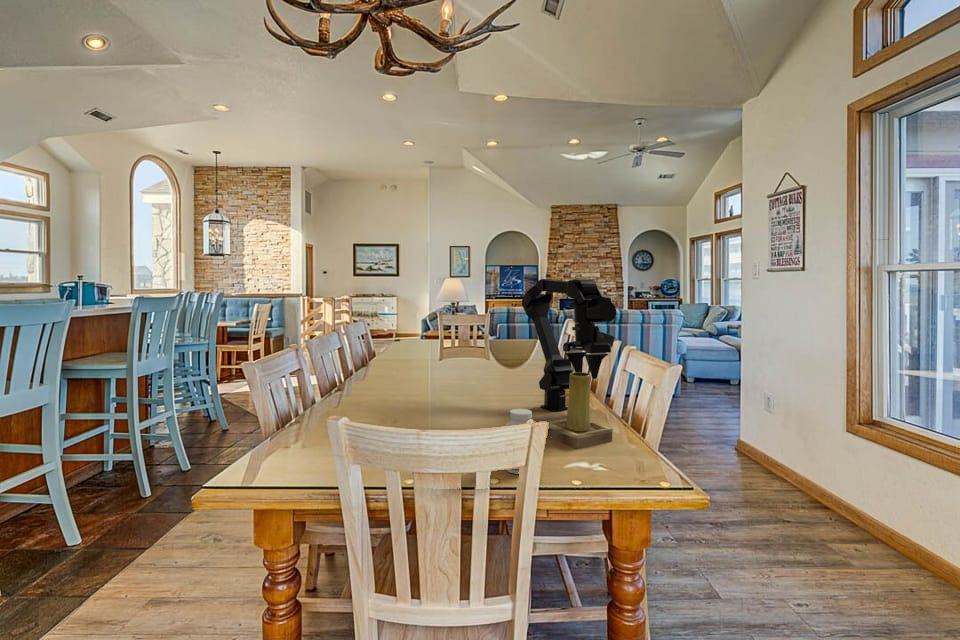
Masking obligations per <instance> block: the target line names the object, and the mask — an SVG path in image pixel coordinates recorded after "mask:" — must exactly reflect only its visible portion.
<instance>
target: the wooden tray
mask: <svg viewBox="0 0 960 640" xmlns="http://www.w3.org/2000/svg"><path fill="white" fill-rule="evenodd" d="M531 419H533V420H534V421H536V422H539V421H547V422H549V429H548V436H549V437H548V438H550V437H552V438H554V439H556V440H555V441H557V440H558V441H557V442H559V441H560V443H561V442H562V444H563V445H566V446H568V447H571V448H573V449H575V450H579V449H582V448H587V447H588V446H589V447H591V446H592V445H593V446H596V445H597V444H598V445H602V444H605V442H607V443H610V442H609V441H612V442H613V428H611V427H609V426H606V425H603V424H601V423H599V422H598V423H597V422H594V421H593V420H592V421H591V420H590V430H589V431H586V432H575V431H571V430H568V429H567V428H566V424H567V414H564V413H561V412H558V413H552V414H544V415H539V416H532V418H531ZM552 438H551V439H552ZM554 439H553V440H554ZM601 443H602V444H601Z"/></svg>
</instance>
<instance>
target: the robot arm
mask: <svg viewBox="0 0 960 640" xmlns="http://www.w3.org/2000/svg"><path fill="white" fill-rule="evenodd" d="M543 292H545V293H543ZM553 293H556V294H557V293H558V294H565V295H566V296H567V297H569V298H571V299H573V301H572V302H571V303H570V305H569V308H570V309H573V314H574V315H573V316H574V326H572V327H571V330H572V331H574V337H575V338H574V340H573V341H565V342H564V343H563V345H562V352H565V353H564V354H565V355H566V356H567V358H564V357H563V356H562V354H561V352H560V349H559V346H558V343H557V340H556V336H555V333H554V330H553V327H552V324H551V321H550V318H549V313H550V309H551V306H550V304H551V302H552V301H553V299H554V297H553ZM521 305H522V308H523V310H524V314H525V315H526V316H527V317H528V318H529V319H531V321H532V322H533V325H534V328H535V331H536V334H537V337H538V340H539V343H540V347H541V351H542V353H543V356H544V359H545V364H544V367H543V376H542V377H541V379H540V380H539V381H538V387H539V389H540V390H543V391H544V399H543V400H544V401H543V404H541V405H540V406H539V407H540V408H542V409H545V410H547V411H551V412H557V411H558V412H559V411H565V410H568V406H566V401H567V400H566V398H567V395H566V390H569V380H570V373H572V372H574V371H575V372H583V368H584V367H583V365H584V361H583V360H584V357H585V360H586V363H587V366H588V369H589V372H590V373H589V374H590V375H591V379H593V380H597V378H598V376H599V372H600V368H601V365H602V361H603V360H604V359H605V358H606V357H607V356H609V354H610V353H612V348H613V346H614V342H615V338H616V337H615V336H614V335H611V334H608V333H605V332H603V331H601V330H600V327H599V326H598V325H596V323H609V322H613V320H615V318H616V316H617V308H616V306H615V304H614V303H613V302H612V301H611V298H610V296H604V295H603V294H602V292H601V290H600V288H599V287H598V285H597V283H596V280H594V279H593V278H592V279H591V278H590V279H588V278H587V279H585V278H581V279H580V278H575V279H573V278H572V279H570V280H569V279H568V280H559V279H553V278H541V279H539V280H538V281H536V284H535V285H533V286H532V287H530V288H529V289H528V290H527V291H526V293H525V294H524V295H523V298H522V299H521Z"/></svg>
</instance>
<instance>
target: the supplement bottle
mask: <svg viewBox="0 0 960 640" xmlns="http://www.w3.org/2000/svg"><path fill="white" fill-rule="evenodd" d="M532 417H533V412H532V410H531V409H528V408H527V409H526V408H513V409H510V410H509V418H510V421H507V423H506V424H505V426H511V425H519V424H524V423H526V422H527V421H528V420H530V419H531V418H532ZM505 471H507V472H508V473H511V474H513V475H518V472H519V469H511V470H506V469H505Z"/></svg>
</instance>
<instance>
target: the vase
mask: <svg viewBox="0 0 960 640" xmlns="http://www.w3.org/2000/svg"><path fill="white" fill-rule="evenodd" d="M591 384H592V376H591V373H588V372H584V371H582V372H576V371H575V372H574V371H573V372H572V373H570V380H569V389H568V399H567V401H568V402H567V403H568V404H567V407H568V409H567V413H566V415H567V424H566V428H567V429H568V430H571V431H575V432H586V431H589V430H590V421H591V408H590V407H591V406H590V405H591Z"/></svg>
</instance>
